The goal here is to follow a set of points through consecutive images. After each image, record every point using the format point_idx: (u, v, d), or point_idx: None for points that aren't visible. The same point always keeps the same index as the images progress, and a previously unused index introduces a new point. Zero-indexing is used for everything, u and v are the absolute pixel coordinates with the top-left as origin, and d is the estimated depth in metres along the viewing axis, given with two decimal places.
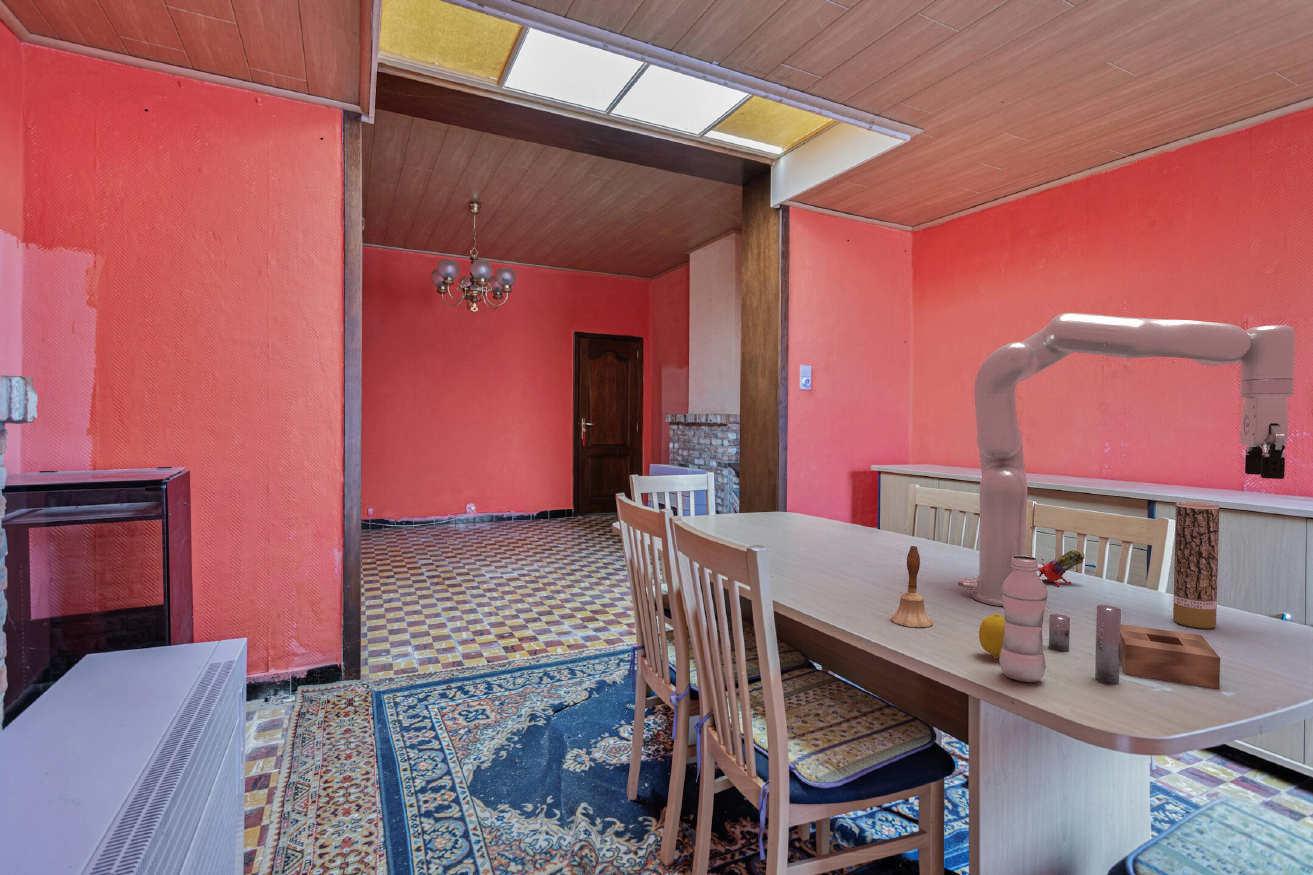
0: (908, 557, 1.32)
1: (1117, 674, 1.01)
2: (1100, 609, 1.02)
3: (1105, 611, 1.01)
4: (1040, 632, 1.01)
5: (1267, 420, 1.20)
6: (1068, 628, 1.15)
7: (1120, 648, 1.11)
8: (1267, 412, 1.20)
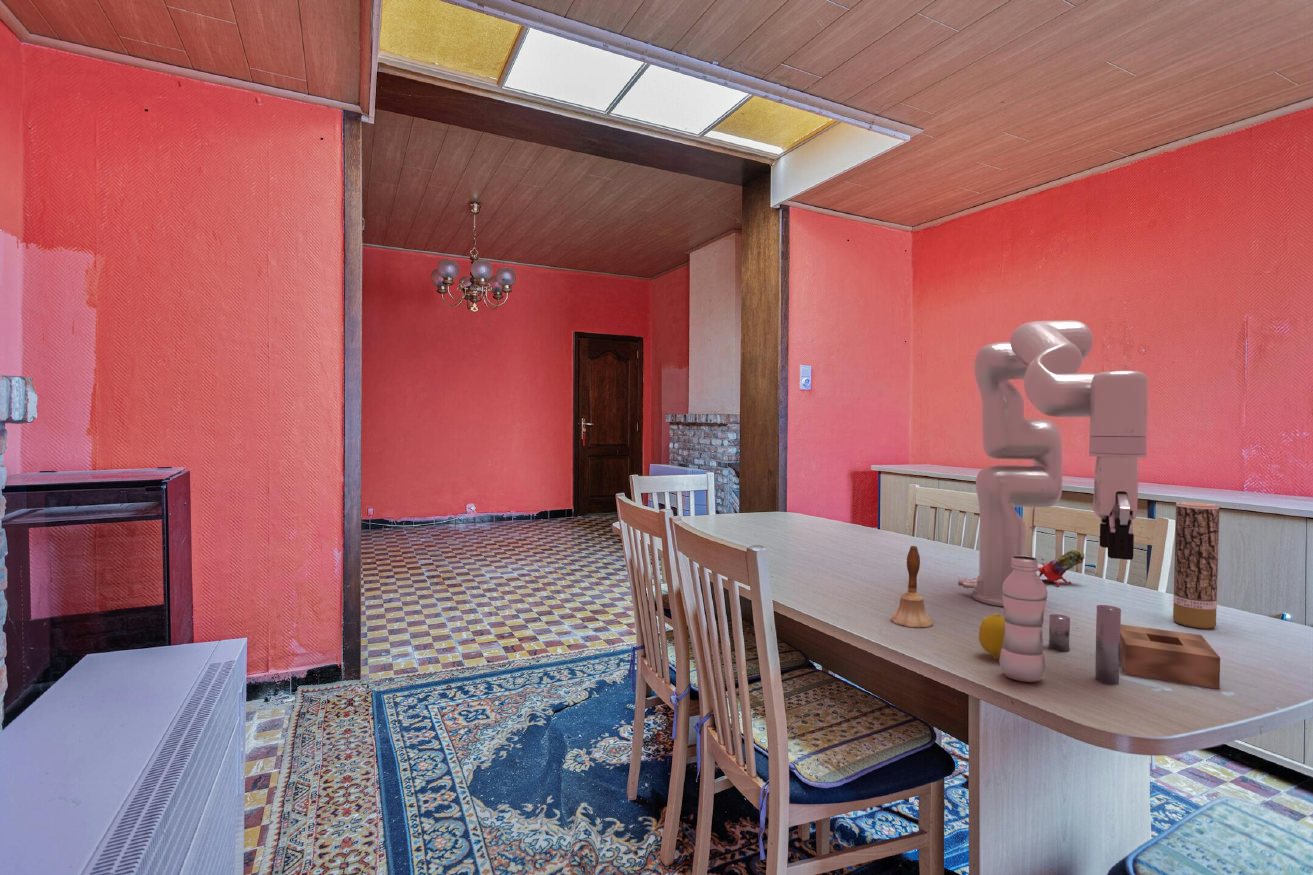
0: (908, 557, 1.32)
1: (1117, 674, 1.01)
2: (1100, 609, 1.02)
3: (1105, 611, 1.01)
4: (1040, 632, 1.01)
5: (1113, 487, 0.98)
6: (1068, 628, 1.15)
7: (1120, 648, 1.11)
8: (1113, 477, 0.98)
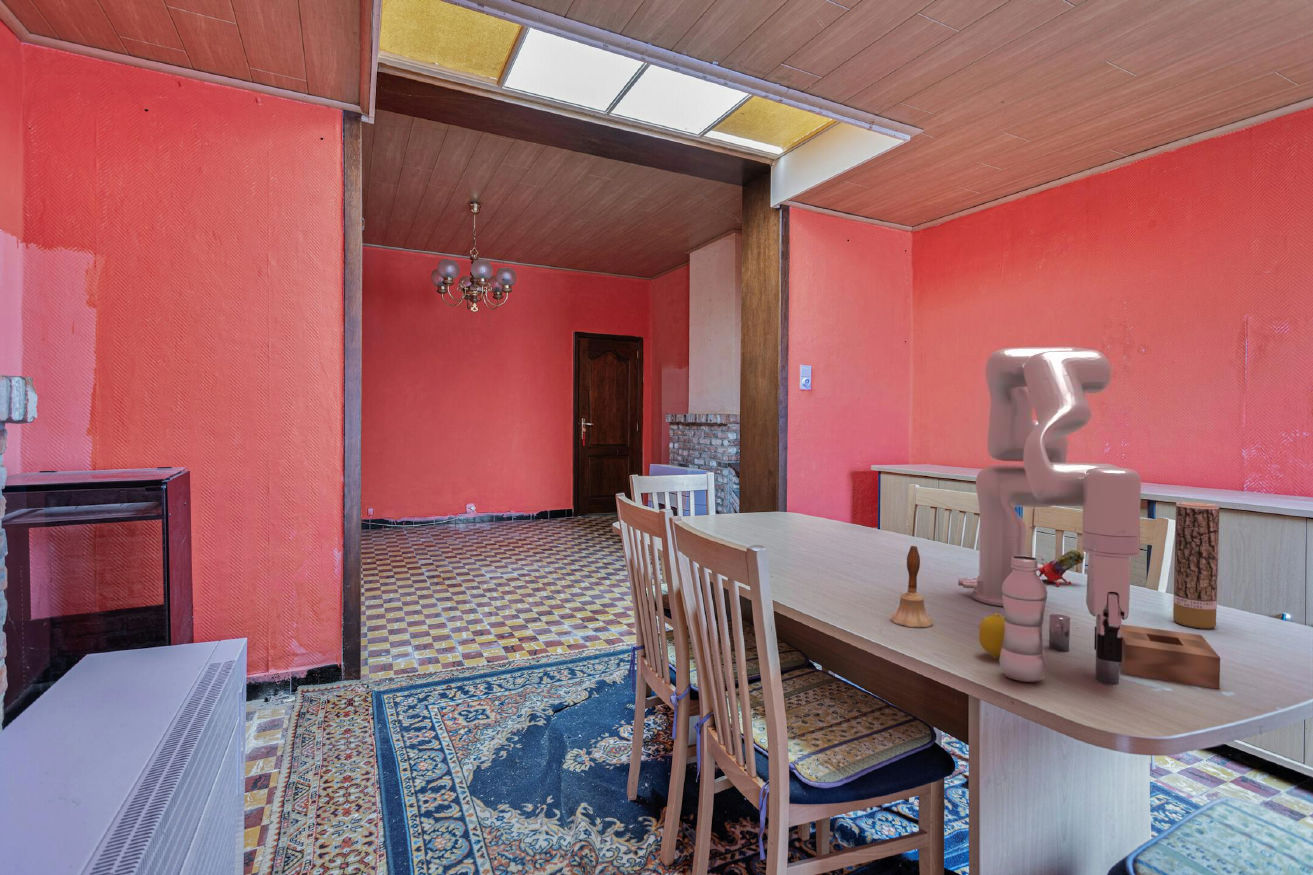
0: (908, 557, 1.32)
1: (1117, 674, 1.01)
2: None
3: None
4: (1040, 632, 1.01)
5: (1105, 587, 0.98)
6: (1068, 628, 1.15)
7: None
8: (1105, 577, 0.98)
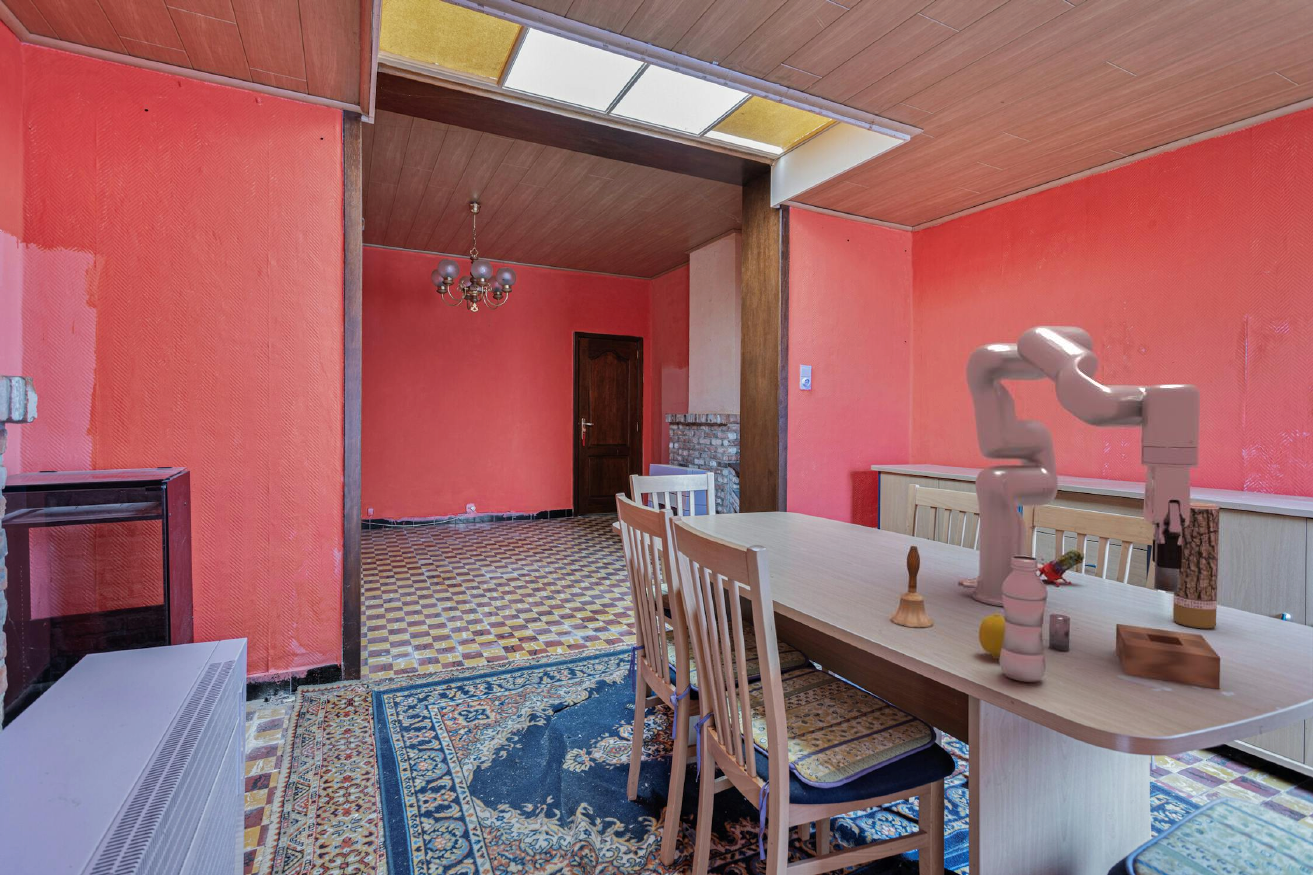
0: (908, 557, 1.32)
1: (1177, 581, 1.06)
2: None
3: (1165, 521, 1.06)
4: (1040, 632, 1.01)
5: (1166, 496, 1.03)
6: (1068, 628, 1.15)
7: (1120, 648, 1.11)
8: (1166, 486, 1.03)
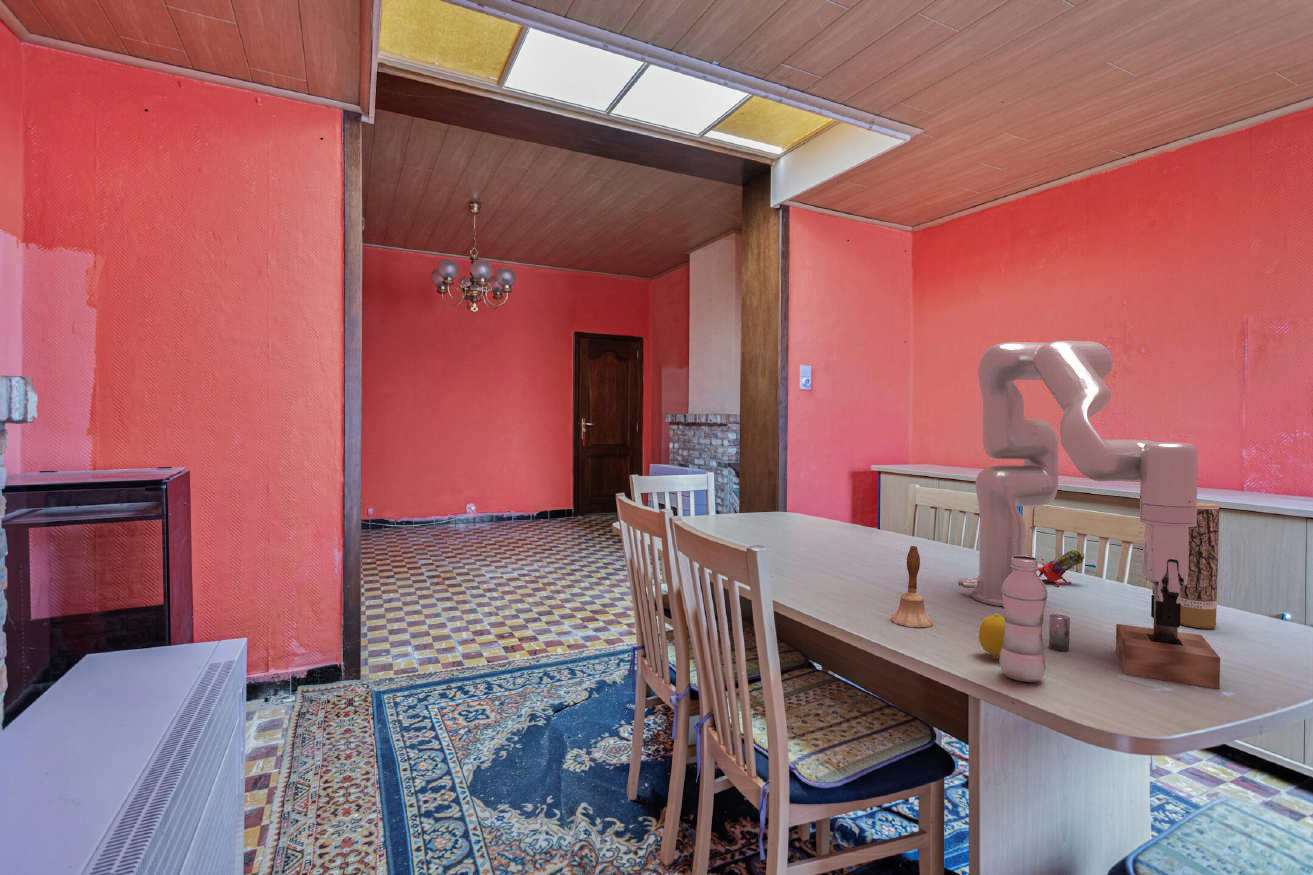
0: (908, 557, 1.32)
1: (1175, 639, 1.06)
2: None
3: None
4: (1040, 632, 1.01)
5: (1165, 555, 1.03)
6: (1068, 628, 1.15)
7: (1120, 648, 1.11)
8: (1165, 546, 1.03)
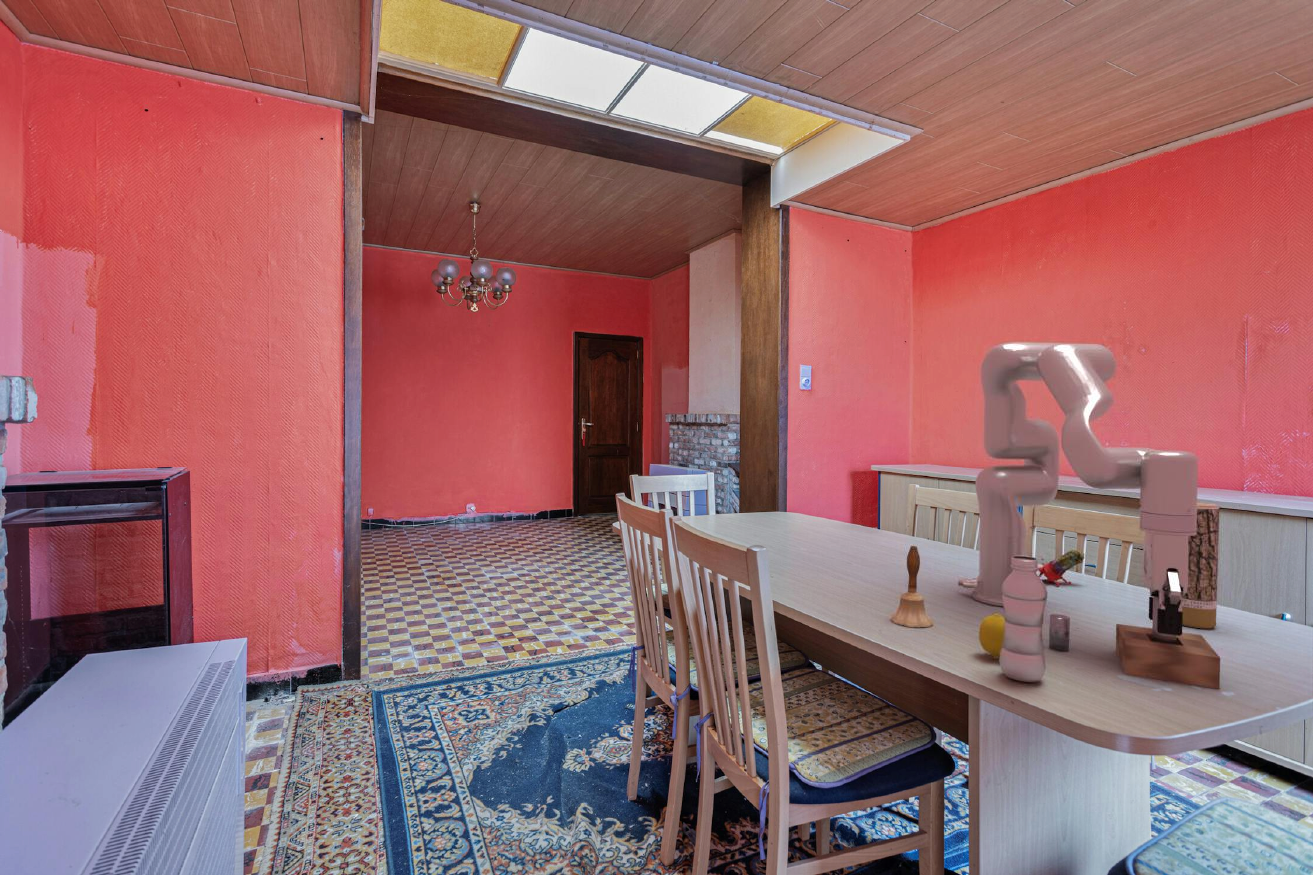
0: (908, 557, 1.32)
1: None
2: (1157, 600, 1.07)
3: None
4: (1040, 632, 1.01)
5: (1165, 564, 1.03)
6: (1068, 628, 1.15)
7: (1120, 648, 1.11)
8: (1165, 554, 1.03)
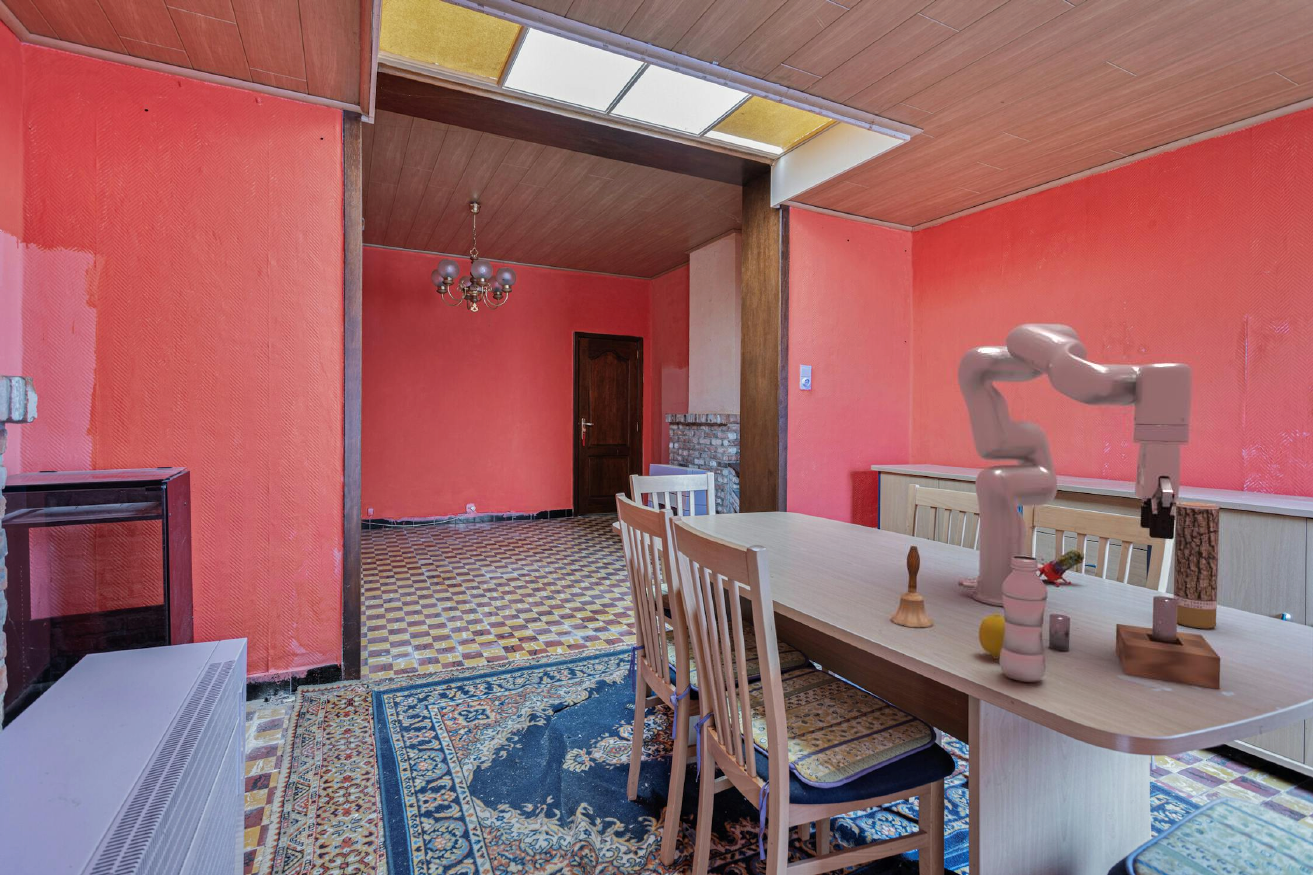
0: (908, 557, 1.32)
1: None
2: (1157, 600, 1.07)
3: (1162, 601, 1.06)
4: (1040, 632, 1.01)
5: (1157, 472, 1.05)
6: (1068, 628, 1.15)
7: (1120, 648, 1.11)
8: (1157, 463, 1.05)
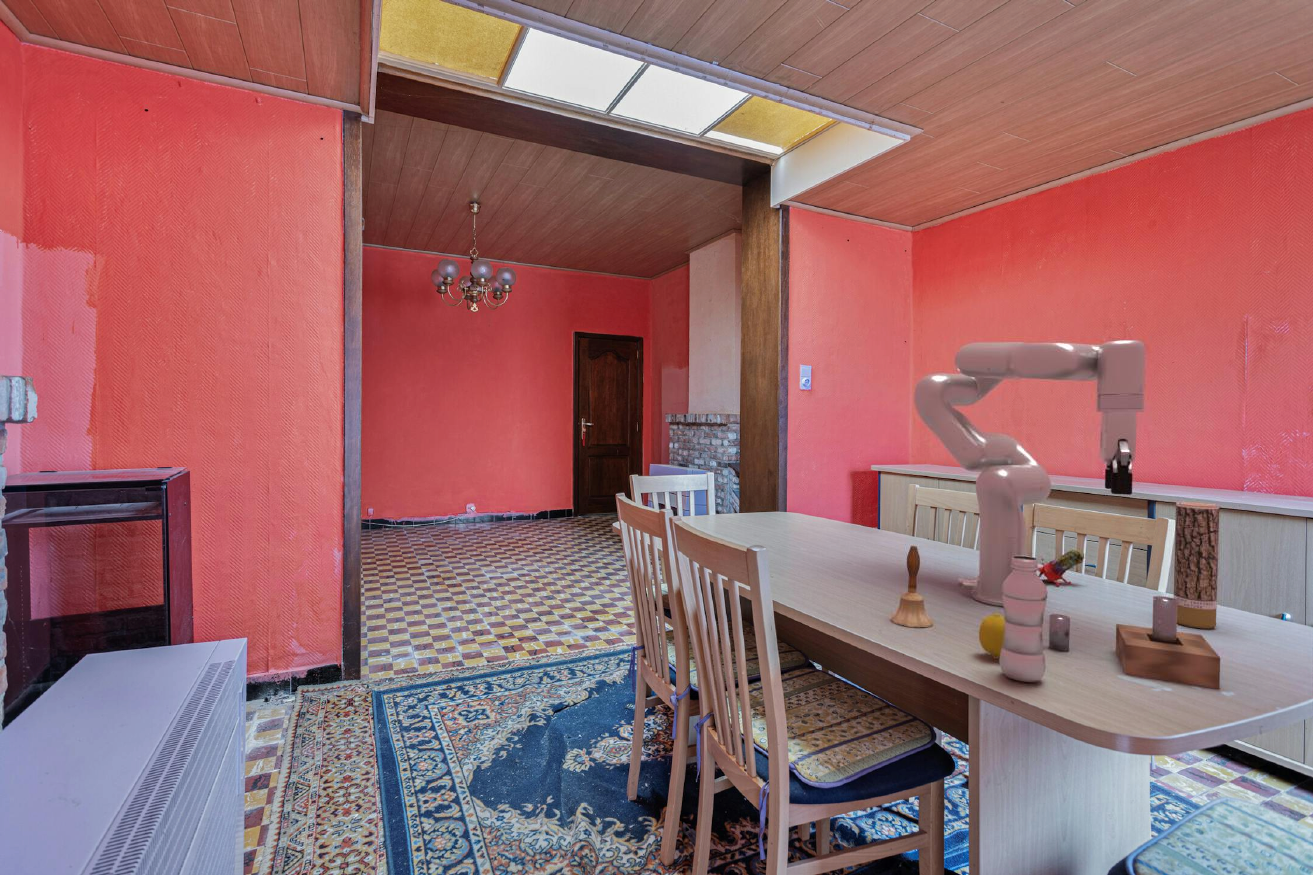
0: (908, 557, 1.32)
1: None
2: (1157, 600, 1.07)
3: (1162, 601, 1.06)
4: (1040, 632, 1.01)
5: (1116, 435, 1.20)
6: (1068, 628, 1.15)
7: (1120, 648, 1.11)
8: (1116, 427, 1.20)
